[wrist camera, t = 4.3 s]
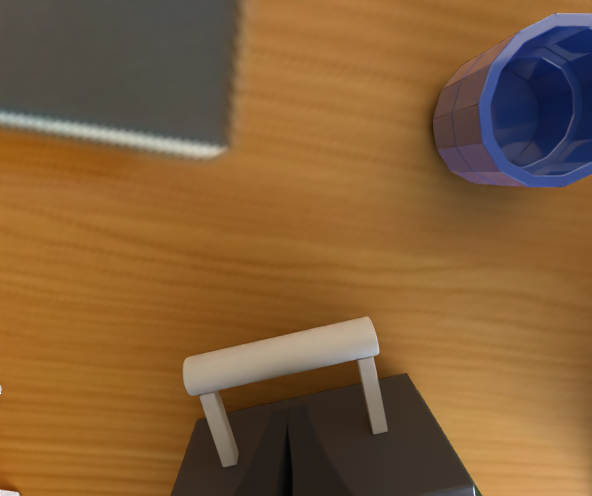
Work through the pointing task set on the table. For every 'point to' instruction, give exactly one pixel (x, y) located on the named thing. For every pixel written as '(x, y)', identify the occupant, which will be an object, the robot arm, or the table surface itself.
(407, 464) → the drawer
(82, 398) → the table surface
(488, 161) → the blue cup
